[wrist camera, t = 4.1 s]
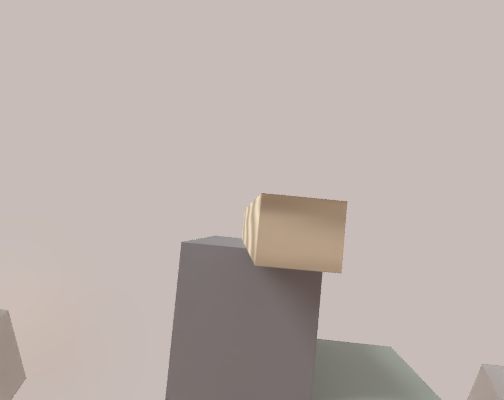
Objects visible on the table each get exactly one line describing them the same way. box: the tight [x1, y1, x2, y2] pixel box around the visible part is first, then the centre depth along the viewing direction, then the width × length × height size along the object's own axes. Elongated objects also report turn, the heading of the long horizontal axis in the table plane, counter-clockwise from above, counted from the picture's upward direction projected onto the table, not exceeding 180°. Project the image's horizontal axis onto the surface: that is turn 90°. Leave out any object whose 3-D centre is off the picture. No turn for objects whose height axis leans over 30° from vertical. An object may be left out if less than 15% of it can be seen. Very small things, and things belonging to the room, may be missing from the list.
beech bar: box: [242, 193, 347, 273], centre depth 26 cm, size 22×3×2 cm, turn 2°
